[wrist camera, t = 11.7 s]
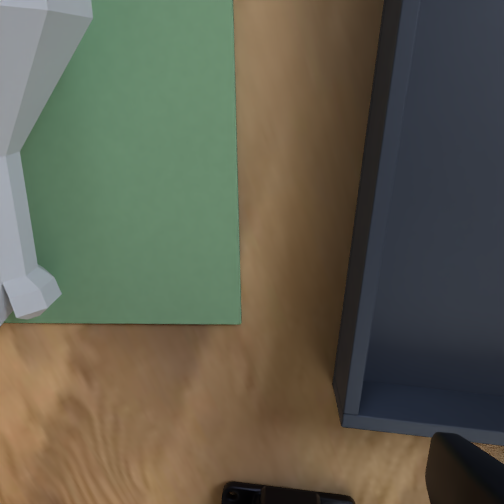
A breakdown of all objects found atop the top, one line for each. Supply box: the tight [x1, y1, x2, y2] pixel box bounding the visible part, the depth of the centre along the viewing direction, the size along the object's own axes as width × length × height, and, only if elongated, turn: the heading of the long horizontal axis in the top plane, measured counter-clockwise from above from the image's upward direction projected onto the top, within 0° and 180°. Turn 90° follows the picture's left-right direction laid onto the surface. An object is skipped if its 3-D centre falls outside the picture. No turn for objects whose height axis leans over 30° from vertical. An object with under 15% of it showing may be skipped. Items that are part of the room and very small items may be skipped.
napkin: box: [3, 0, 241, 324], centre depth 19 cm, size 19×18×1 cm
